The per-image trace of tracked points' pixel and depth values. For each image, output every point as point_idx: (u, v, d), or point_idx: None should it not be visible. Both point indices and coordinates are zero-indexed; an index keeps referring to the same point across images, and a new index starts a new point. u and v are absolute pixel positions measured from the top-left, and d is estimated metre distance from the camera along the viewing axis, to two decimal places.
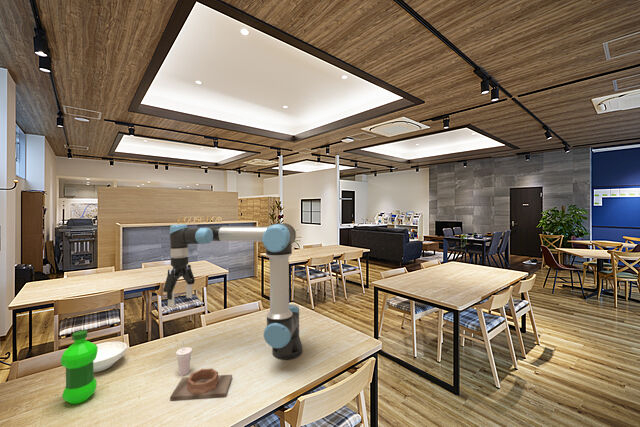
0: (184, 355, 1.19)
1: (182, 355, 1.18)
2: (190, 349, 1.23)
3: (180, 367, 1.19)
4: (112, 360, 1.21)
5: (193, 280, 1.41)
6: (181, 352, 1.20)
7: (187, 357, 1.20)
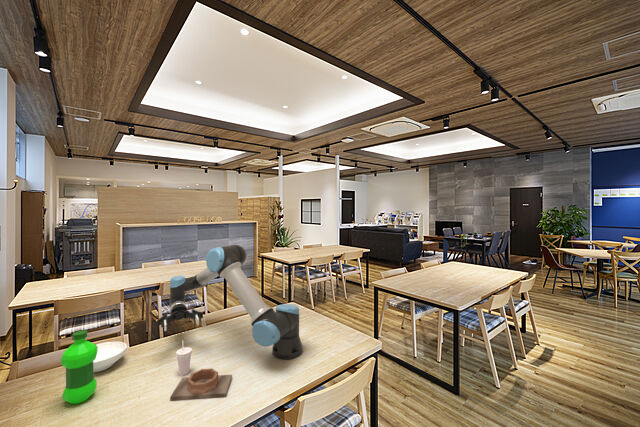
0: (184, 355, 1.19)
1: (182, 355, 1.18)
2: (190, 349, 1.23)
3: (180, 367, 1.19)
4: (112, 360, 1.21)
5: (200, 313, 1.41)
6: (181, 352, 1.20)
7: (187, 357, 1.20)
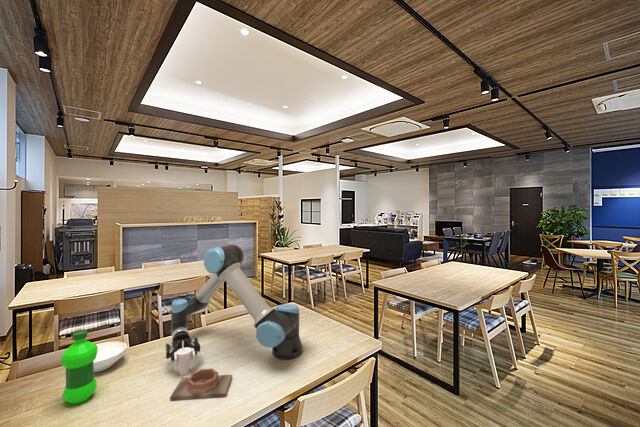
0: (184, 355, 1.19)
1: (182, 355, 1.18)
2: (190, 349, 1.23)
3: (180, 367, 1.19)
4: (112, 360, 1.21)
5: (197, 345, 1.27)
6: (181, 352, 1.20)
7: (187, 357, 1.20)
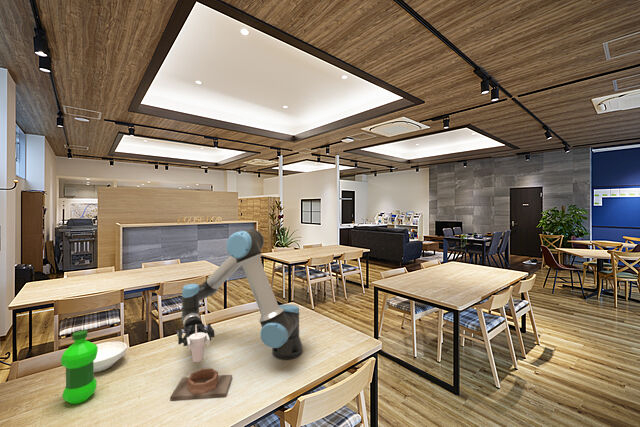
0: (198, 340, 1.10)
1: (196, 340, 1.09)
2: (204, 334, 1.14)
3: (193, 353, 1.10)
4: (112, 360, 1.21)
5: (211, 330, 1.18)
6: (194, 337, 1.11)
7: (201, 342, 1.11)
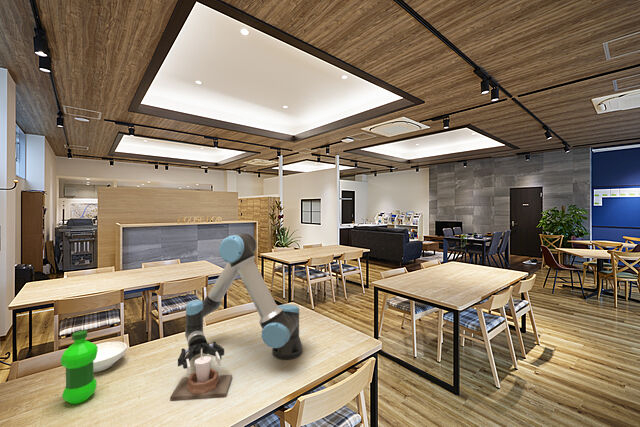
0: (203, 364, 1.08)
1: (201, 364, 1.08)
2: (209, 358, 1.12)
3: (199, 378, 1.09)
4: (112, 360, 1.21)
5: (221, 349, 1.18)
6: (200, 361, 1.10)
7: (206, 367, 1.09)
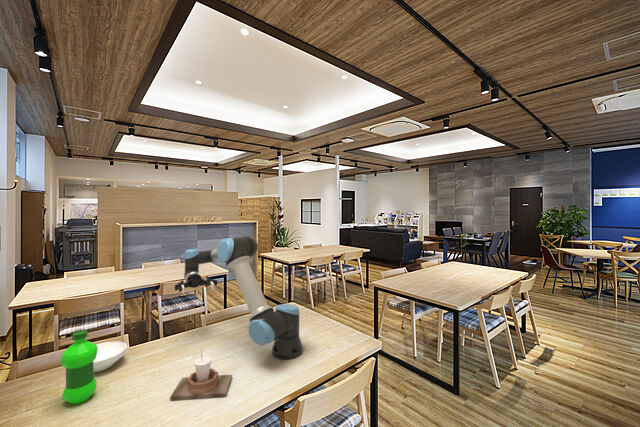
0: (203, 366, 1.08)
1: (201, 366, 1.08)
2: (209, 359, 1.12)
3: (199, 379, 1.09)
4: (112, 360, 1.21)
5: (214, 280, 1.49)
6: (200, 362, 1.09)
7: (206, 368, 1.09)
